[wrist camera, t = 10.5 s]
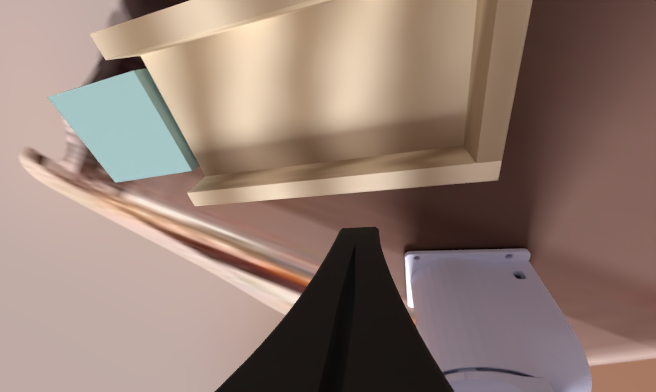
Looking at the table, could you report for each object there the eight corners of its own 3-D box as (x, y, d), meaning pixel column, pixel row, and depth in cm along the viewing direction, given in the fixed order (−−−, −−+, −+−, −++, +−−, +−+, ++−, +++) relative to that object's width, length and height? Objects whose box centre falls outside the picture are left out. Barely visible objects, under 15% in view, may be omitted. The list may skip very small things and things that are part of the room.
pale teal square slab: (157, 66, 17) (133, 70, 15) (207, 159, 20) (192, 170, 19) (76, 91, 19) (47, 97, 17) (134, 171, 22) (115, 182, 21)
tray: (510, -85, 10) (556, -123, 8) (478, 155, 16) (497, 180, 13) (138, 32, 15) (89, 34, 13) (217, 183, 21) (195, 206, 18)
